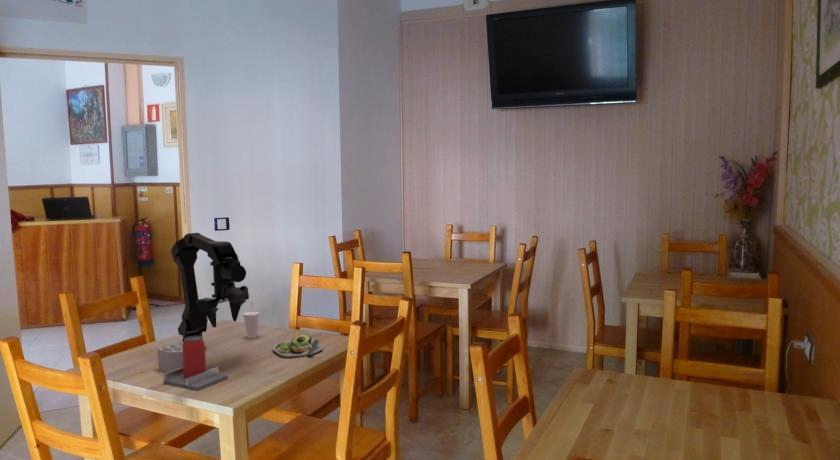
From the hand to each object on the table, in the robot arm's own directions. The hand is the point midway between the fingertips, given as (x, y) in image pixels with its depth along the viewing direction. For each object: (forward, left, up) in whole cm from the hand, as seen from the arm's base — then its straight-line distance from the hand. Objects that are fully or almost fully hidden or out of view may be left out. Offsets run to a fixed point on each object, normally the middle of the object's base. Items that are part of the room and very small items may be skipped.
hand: (224, 324), depth 211 cm
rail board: (+19, +6, -13) cm, 24 cm away
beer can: (+17, +4, -12) cm, 22 cm away
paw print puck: (+12, -9, -13) cm, 20 cm away
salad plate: (-21, +14, -14) cm, 29 cm away
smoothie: (-27, -14, -13) cm, 33 cm away
